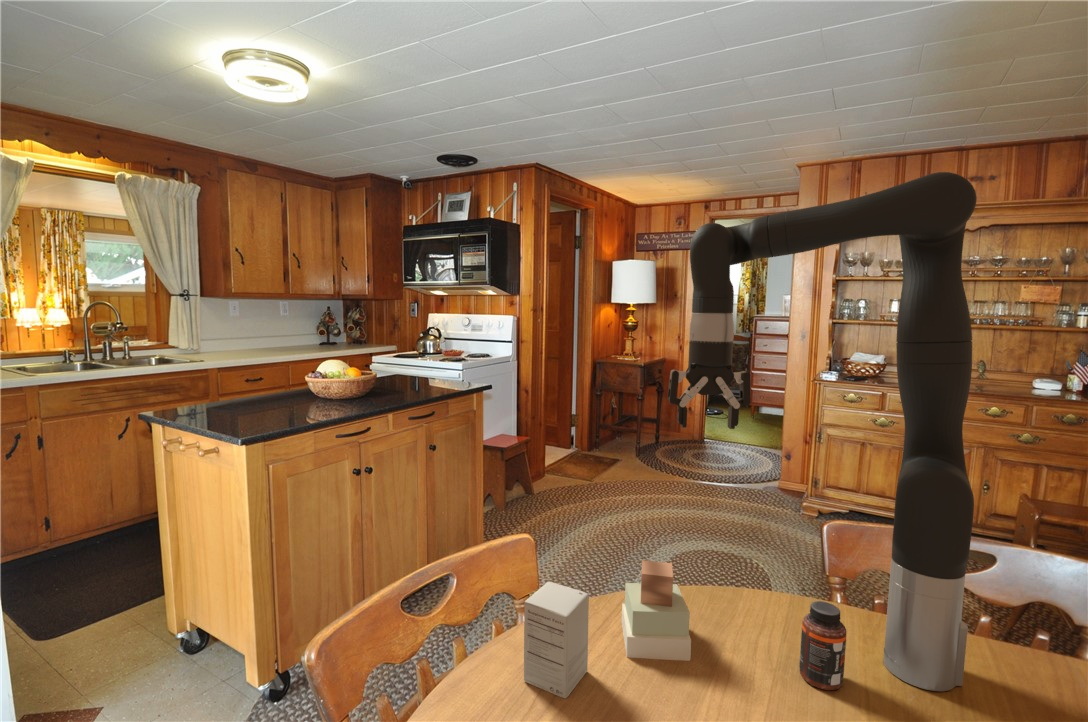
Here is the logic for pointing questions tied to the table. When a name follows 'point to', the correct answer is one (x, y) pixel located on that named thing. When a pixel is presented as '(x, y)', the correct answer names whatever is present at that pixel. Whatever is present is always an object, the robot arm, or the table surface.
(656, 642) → the tower base
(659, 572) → the terracotta cube
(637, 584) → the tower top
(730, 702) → the table surface
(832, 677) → the supplement bottle
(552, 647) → the supplement box
